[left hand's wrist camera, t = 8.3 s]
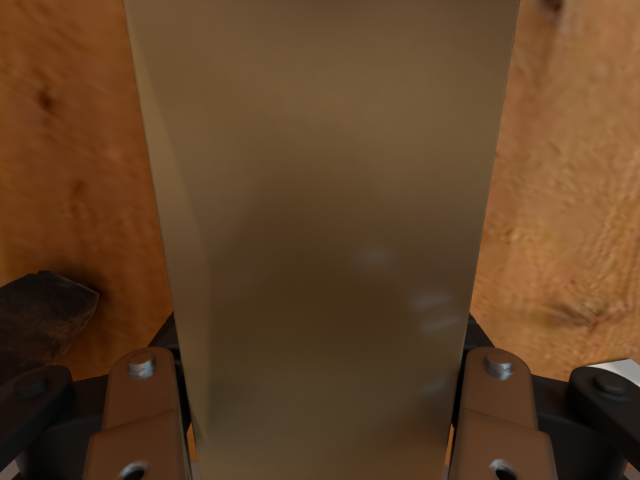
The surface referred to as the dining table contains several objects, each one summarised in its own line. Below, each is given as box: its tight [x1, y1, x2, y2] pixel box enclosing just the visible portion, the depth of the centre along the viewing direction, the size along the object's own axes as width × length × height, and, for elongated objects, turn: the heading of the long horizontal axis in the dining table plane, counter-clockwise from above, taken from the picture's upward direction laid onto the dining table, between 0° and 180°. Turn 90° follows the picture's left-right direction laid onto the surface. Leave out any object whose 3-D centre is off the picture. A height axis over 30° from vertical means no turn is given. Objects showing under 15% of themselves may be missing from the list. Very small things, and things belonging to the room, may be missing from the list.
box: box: [123, 0, 520, 480], centre depth 10 cm, size 24×6×12 cm, turn 0°
